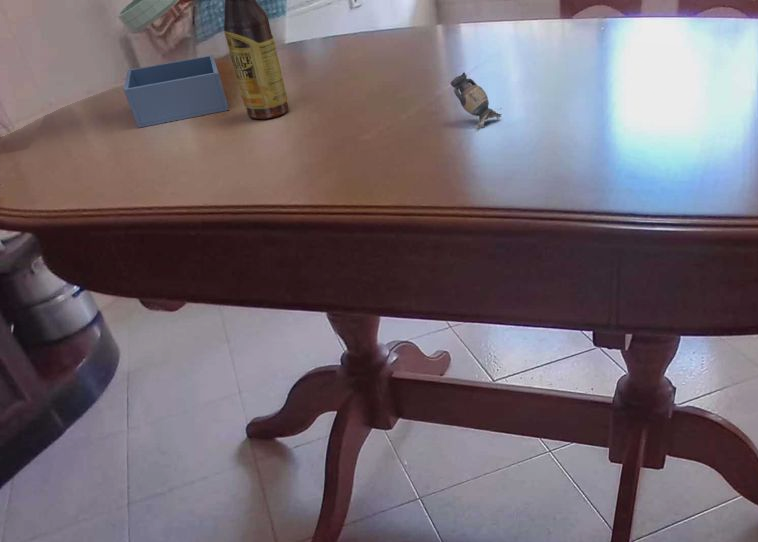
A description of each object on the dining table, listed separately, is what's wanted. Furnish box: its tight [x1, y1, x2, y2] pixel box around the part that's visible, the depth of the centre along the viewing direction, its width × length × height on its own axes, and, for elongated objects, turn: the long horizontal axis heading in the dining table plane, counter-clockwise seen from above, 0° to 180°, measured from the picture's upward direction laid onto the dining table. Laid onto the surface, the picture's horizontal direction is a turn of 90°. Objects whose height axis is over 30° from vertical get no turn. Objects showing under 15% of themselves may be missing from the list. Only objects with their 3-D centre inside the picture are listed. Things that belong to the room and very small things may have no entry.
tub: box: [123, 54, 230, 129], centre depth 108 cm, size 13×13×6 cm
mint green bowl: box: [116, 0, 180, 33], centre depth 100 cm, size 9×9×3 cm
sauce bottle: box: [223, 0, 290, 120], centre depth 97 cm, size 6×6×20 cm
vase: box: [450, 72, 503, 132], centre depth 90 cm, size 5×5×6 cm
